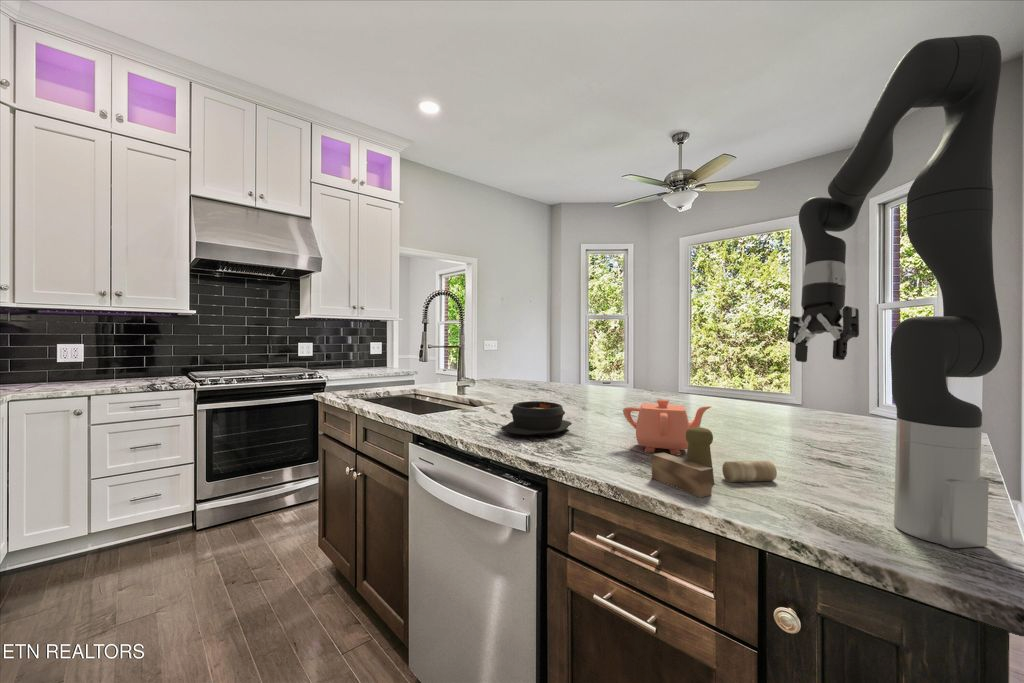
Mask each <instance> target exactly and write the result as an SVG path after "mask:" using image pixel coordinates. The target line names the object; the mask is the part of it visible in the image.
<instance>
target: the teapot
mask: <svg viewBox="0 0 1024 683" xmlns="http://www.w3.org/2000/svg"><path fill="white" fill-rule="evenodd" d="M669 402H670V400H668V399H656V403H645V402H643V403H641V404H640V407H634V406H627V407H624V408H623V409H622V412H623V415H624V418H625V419H626V420H627V422H628V423H629V424H630V425H631V426H632V427H633V428H634V429H635V438H636V441H637V444H638V446H640V447H645V448H644V450H643V452H645V451H646V452H645V453H649V452H653V453H656V452H655V451H656V449H667V450H669V453H670V454H671V453H672V454H671V455H673V454H681V455H682V453H681V450H686V451H687V449H688V442H687V440H686V431H687V430H688V429H689V428H692V427H701V424H702V419H703V415H704V413H705V412H706V411H707V410H710V409H711V408H712V407H713V406H710V405H709V406H706V405H705V406H700V407H699V408H698V409H697V410H696V413H695V416H694V419H692V421H691V422H689V418H688V413H687V410H686V408H685V407H684V405H678V404H669ZM632 412H638V415H637V420H636V422H635V420H634V419H633V416H632V414H631V413H632Z"/></svg>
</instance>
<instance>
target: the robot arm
mask: <svg viewBox="0 0 1024 683" xmlns="http://www.w3.org/2000/svg"><path fill="white" fill-rule="evenodd" d="M1001 50H1002V49H1001V47H1000V43H999V41H998V40H997V39H996V37H993V36H991V35H985V34H973V35H960V36H959V35H958V36H948V37H946V36H945V37H935V38H928V39H924V40H923V41H919V42H918V43H916V44H915V45H913V46H912V47H911V48H910V49H909V50H908V51H907V52H905V54H904V55H903V57H902V58H901V59H900V61H899V62H898V63H897V65H896V67H895V69H894V70H893V71H892V73H891V75H890V76H889V78H888V81H887V82H886V84H885V86H884V88H883V90H882V93H881V94H880V96H879V99H878V100H877V101H876V104H875V106H874V108H873V110H872V112H871V114H870V115H869V118H868V120H867V122H866V124H865V127H864V128H863V131H862V133H861V134H860V137H859V138H858V141H857V142H856V144H855V146H854V147H853V149H852V150H851V152H850V154H849V155H848V157H847V158H846V159H845V161H844V162H843V164H842V165H841V166H840V168H839V169H838V171H837V172H836V173H835V175H834V176H833V177H832V179H831V181H830V182H829V184H828V187H827V191H828V194H829V196H830V197H829V196H827V197H826V196H813V197H810V198H809V199H806V201H804V203H803V204H802V205H801V206H800V209H799V212H798V224H799V228H800V232H801V233H802V234H801V236H802V238H803V243H804V246H805V262H804V263H805V264H804V271H803V276H802V289H801V300H800V302H801V303H800V305H801V308H802V310H803V313H802V315H801V316H794V315H791V316H790V317H789V324H788V330H787V332H788V333H787V339H786V340H787V342H789V343H792V344H794V346H795V348H794V349H795V350H794V353H795V354H794V358H795V360H796V361H797V362H800V363H806V362H807V361H808V350H809V349H808V348H809V347H808V346H809V345H808V344H809V343H810V341H811V340H812V339H814V338H815V337H816V336H817V335H818V334H824V333H830V334H831V336H832V337H833V338H834V340H833V341H832V342H833V345H832V359H833V360H837V361H844V360H845V359H846V357H847V354H848V342H849V341H850V339H853V338H858V337H859V336H860V316H859V315H860V314H859V312H860V311H859V309H858V308H856V307H853V306H848V305H846V306H845V304H846V303H845V302H846V286H847V285H846V284H847V282H846V281H847V272H846V271H847V270H846V254H847V244H846V240H844V239H843V238H840V237H839V236H836V235H835V236H834V235H832V234H829V233H828V232H833V233H836V232H837V233H838V232H839V233H840V232H843V231H846V230H848V229H850V228H852V227H853V226H854V225H855V223H856V222H857V219H858V217H859V214H860V211H861V208H862V206H863V204H864V202H865V200H866V198H867V197H868V194H869V193H870V192H871V191H872V189H873V188H874V187H875V186H876V185H877V184H878V183H879V182H880V181H881V179H882V178H883V176H885V174H886V173H887V171H888V169H889V168H890V166H891V164H892V161H893V156H894V132H895V129H896V126H897V124H898V123H899V122H900V121H901V120H902V119H903V117H904V116H905V115H907V113H908V112H910V110H911V109H917V108H919V109H920V108H923V109H924V108H935V107H937V108H938V107H939V108H940V107H942V108H943V112H944V125H943V134H942V137H941V141H940V143H939V145H938V147H937V148H936V150H935V151H934V153H933V154H932V156H931V157H930V158H929V160H928V161H927V163H925V165H924V166H923V167H922V169H921V171H920V172H919V173H918V175H917V176H916V178H915V179H914V181H913V183H912V184H911V186H910V188H909V190H908V193H907V197H906V199H907V200H906V233H907V238H908V239H909V243H910V244H911V247H913V248H914V251H915V252H916V253H917V255H918V256H919V258H920V259H921V260H922V261H923V263H924V264H925V265H926V267H927V268H928V269H929V271H930V272H931V273H932V274H933V276H934V278H935V280H936V282H937V283H938V286H939V288H940V292H941V298H942V306H943V308H942V309H943V315H942V316H941V315H938V316H934V315H933V316H931V315H930V316H929V315H927V316H926V315H925V316H922V315H921V316H912V317H908V318H905V319H904V320H902V321H901V322H899V324H897V326H896V327H895V329H894V332H893V334H892V336H891V340H890V367H891V368H890V370H891V374H890V375H891V393H892V398H893V402H894V404H895V405H894V406H895V407H896V426H895V428H896V429H895V433H896V434H895V456H894V457H895V463H894V464H895V466H894V498H893V499H894V502H893V503H894V505H893V508H894V509H893V525H894V526H895V527H896V529H898V530H900V531H901V532H904V533H905V534H908V535H909V536H912V537H915V538H918V539H920V540H924V541H927V542H931V543H935V544H939V545H942V546H945V547H947V548H949V549H962V548H963V549H964V548H978V547H980V548H981V547H983V548H984V547H988V527H989V526H988V525H989V524H988V523H989V495H990V494H989V490H990V489H989V488H990V486H989V485H990V483H989V481H988V480H986V479H984V478H982V477H981V461H982V460H981V459H982V458H981V457H982V456H981V455H982V428H983V427H982V426H983V412H982V409H981V407H979V406H978V405H976V404H974V403H971V402H968V401H965V400H963V399H960V398H959V397H957V396H955V395H954V394H953V393H951V391H949V389H948V384H947V378H978V377H983V376H986V375H987V374H989V373H991V371H993V370H994V369H995V367H997V365H998V363H999V361H1000V359H1001V355H1002V354H1001V353H1002V349H1003V348H1002V347H1003V336H1002V335H1003V334H1002V326H1001V319H1000V313H999V306H998V300H997V294H996V293H997V292H996V286H995V285H996V284H995V279H994V278H995V277H994V276H995V275H994V259H993V258H994V255H993V254H994V253H993V221H994V220H993V219H994V218H993V217H994V216H993V215H994V188H993V187H994V185H993V142H994V140H993V138H994V137H993V136H994V125H995V124H994V122H995V115H996V107H997V100H998V94H999V85H1000V80H1001V72H1002V69H1001V68H1002V51H1001ZM841 320H842V323H841V322H840V321H841ZM807 330H808V331H807Z"/></svg>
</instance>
